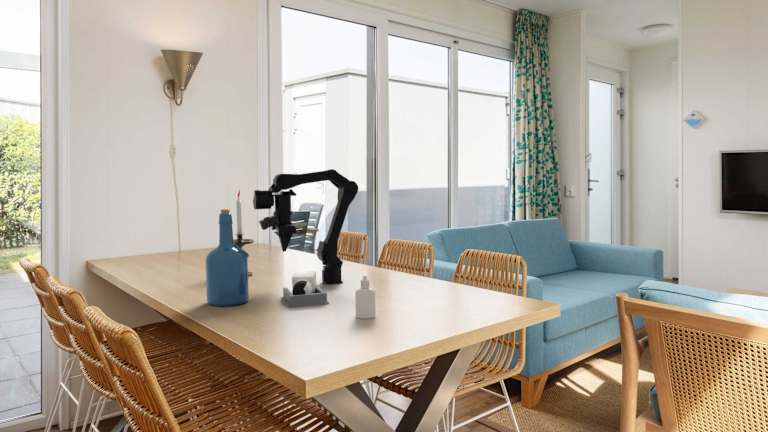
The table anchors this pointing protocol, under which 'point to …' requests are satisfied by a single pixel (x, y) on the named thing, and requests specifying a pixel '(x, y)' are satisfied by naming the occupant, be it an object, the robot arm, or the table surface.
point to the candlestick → (240, 240)
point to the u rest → (305, 298)
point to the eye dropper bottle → (365, 300)
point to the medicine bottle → (304, 282)
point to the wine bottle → (227, 268)
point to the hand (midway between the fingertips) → (284, 251)
